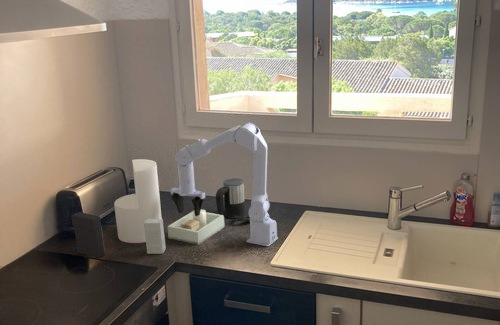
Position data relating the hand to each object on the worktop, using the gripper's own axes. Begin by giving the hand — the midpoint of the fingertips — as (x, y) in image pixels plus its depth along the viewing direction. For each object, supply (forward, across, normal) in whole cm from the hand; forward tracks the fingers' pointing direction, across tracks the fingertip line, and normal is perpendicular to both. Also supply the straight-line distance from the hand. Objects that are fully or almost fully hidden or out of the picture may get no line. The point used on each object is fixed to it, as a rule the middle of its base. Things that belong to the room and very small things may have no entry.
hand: (189, 213), depth 204 cm
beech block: (+9, 0, 0) cm, 9 cm away
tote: (+9, 0, +4) cm, 10 cm away
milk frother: (+10, +7, +24) cm, 27 cm away
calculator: (+10, -25, -28) cm, 38 cm away
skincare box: (+10, -4, -16) cm, 19 cm away
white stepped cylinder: (+10, -20, -6) cm, 23 cm away
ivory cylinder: (+9, 0, +7) cm, 11 cm away
